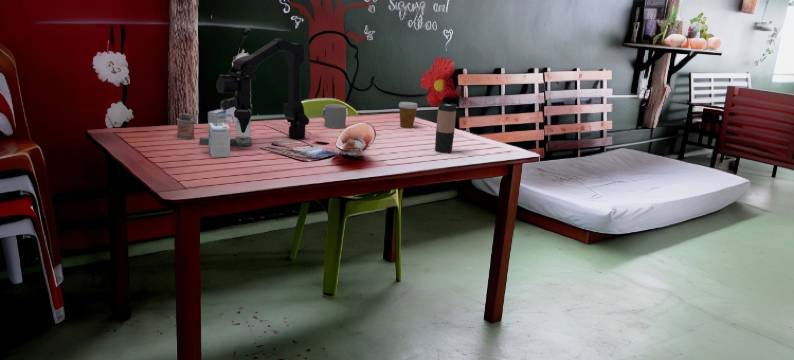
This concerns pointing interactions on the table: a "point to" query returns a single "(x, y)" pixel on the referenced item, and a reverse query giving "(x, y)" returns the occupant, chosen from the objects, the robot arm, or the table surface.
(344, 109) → the coffee mug
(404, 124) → the disposable coffee cup
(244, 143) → the ratchet
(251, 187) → the table surface
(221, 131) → the light bulb box
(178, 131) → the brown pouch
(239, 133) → the socket
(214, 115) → the medicine box
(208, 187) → the table surface
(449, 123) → the travel mug
